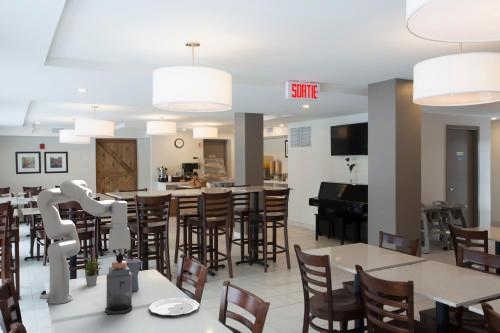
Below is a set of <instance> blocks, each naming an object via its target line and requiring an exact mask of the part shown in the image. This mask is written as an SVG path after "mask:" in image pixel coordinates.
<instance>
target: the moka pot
mask: <svg viewBox="0 0 500 333" xmlns="http://www.w3.org/2000/svg"><path fill="white" fill-rule="evenodd" d="M123 261H126V262H127V267H128V268H129V269H130V272H131V273H132V293H133V294H134V293H136V292H139V290H140V289H139V287H140V286H139V272H140V268H141V266H142V264H143V261H141V259H138V258H134V256H133V255H131V256H130V258H129V259H127V258H123Z"/></svg>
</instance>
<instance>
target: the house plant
mask: <svg viewBox="0 0 500 333" xmlns="http://www.w3.org/2000/svg"><path fill="white" fill-rule="evenodd" d="M99 260H100V258H99V259H97V258H95V259H94V261H93V262H92V258H91V257H90V258H89V259H88V258H87V262H84V261H82V263H83V265H84V266H85V267H86V268H87V269H86V268H84V267H83V268H81V270H83V271H85V276H84V278H85V281H86V282H85V283H86V286H87V287H95V286H97V280H98V275H99V274H98V273H96V272H97V271H99V272H101V270H102V267H101V265H102V264H103V260H101V261H99ZM99 266H100V267H99Z"/></svg>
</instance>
